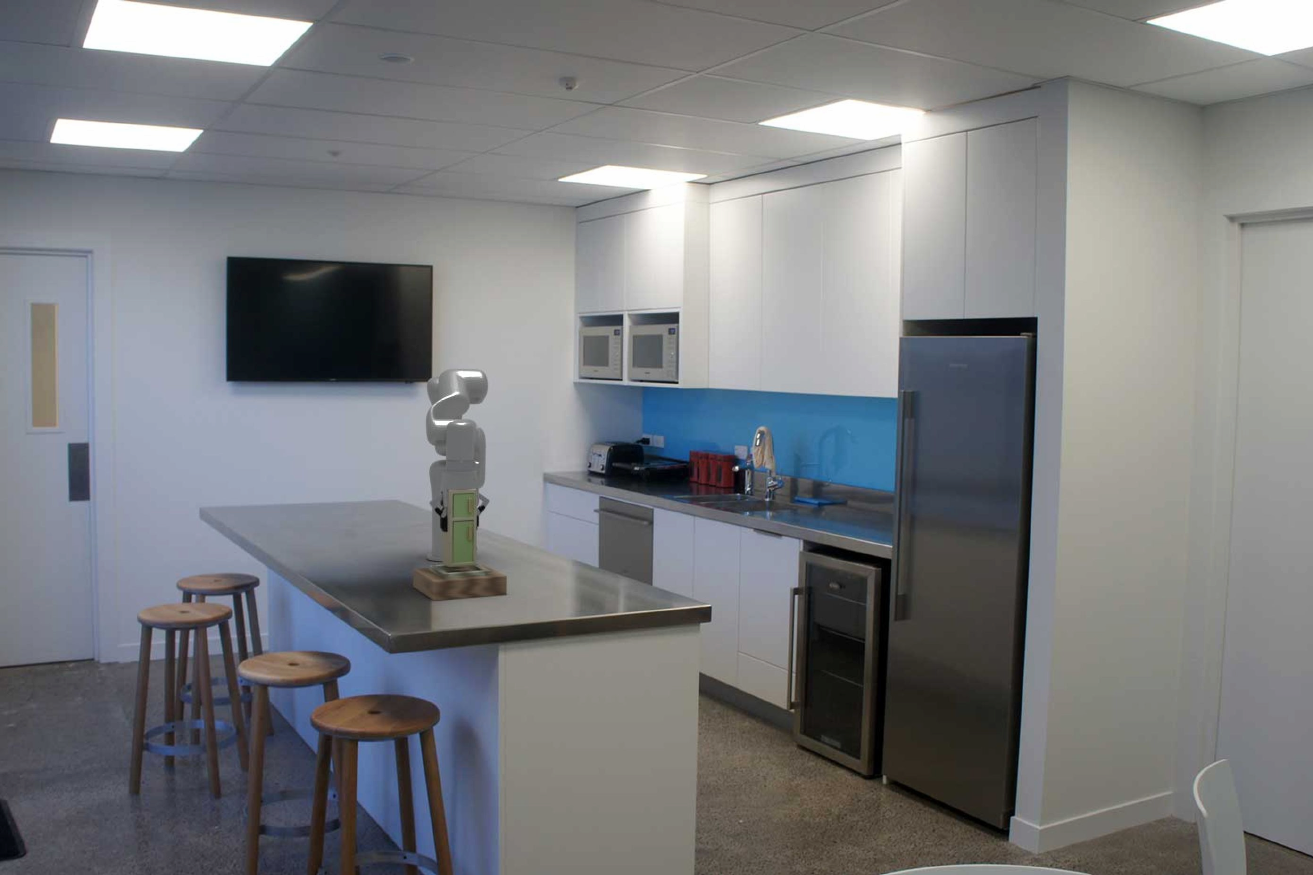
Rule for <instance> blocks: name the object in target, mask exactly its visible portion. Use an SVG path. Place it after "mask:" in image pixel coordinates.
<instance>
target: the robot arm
mask: <svg viewBox="0 0 1313 875" xmlns="http://www.w3.org/2000/svg"><path fill="white" fill-rule="evenodd" d="M426 391H427V396H428V399H429V401H430V403H431V406H430V407H429V409H428V411H427V414H426V417H425V431H426V432H425V433H426V434H425V435H426V439H427V441H428V443H429V444H430V445H432V446H434V449H435V452H436V454H437V455H439V456H442V457H445V459H439V460H436V461H434V462H432V464H431V465H430V466H429V473H428V474H429V483H430V489H431V500H430V501H429V505H430V507H431V553H428V554H426V559H427V560H429V561H433V562H442V531H443V532H447V531H448V519H447V517H446V515H447V508H448V490H468V489H476V490H477V528H479V527H480V516H481V515H482V513H483V512H484V511H485V509H486V507H487V506H488V504H489V503H490V498H487V497H486V496H484V495H483V494H482V493H480V489H481V488H483V487H484V485H485V482H486V462H487V461H486V455H487V454H486V452H487V450H486V448H487V444H486V443H487V442H486V435H485V431H484V430H483V429H482V428H481V427H479V425H478V424H477V423H476V422H475V420H473V419H470V418H469V419H468V418H467V419H466V418H465V419H464V418H463V415H464V414H466V413H468V410H469V409H470V405H480V404H482V403H483V402H484V400H485V398H486V396H488V395H487V394H488V391H489V382H488V376H487V374H486V373H485V372H484V371H483V370H481V369H477V368H475V369H474V368H471V369H470V368H466V369H465V368H449V369H446V370H444V371H442V372H441V373H440V375H439V376H434V377H431V378H430V379H428V381H427V383H426ZM480 500H481V502H482V503H481V504H480ZM443 503H444V504H443ZM479 504H480V505H479ZM442 506H443V507H442Z"/></svg>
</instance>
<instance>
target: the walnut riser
mask: <svg viewBox="0 0 1313 875" xmlns="http://www.w3.org/2000/svg"><path fill="white" fill-rule="evenodd" d="M412 571H413V577H412V578H413V582H412V583H413V586H412V587H413V588H414V589H416V590H417V591H419V592H420V593H421V594H423V595H425V596H426V597H427V598H430V599H431V600H432V601H434V602H435V601H447V600H458V599H459V600H460V599H470V598H483V597H494V596H507V594H508V593H507V591H508V590H507V588H508V586H507V583H508V582H507V580H508V577H507V575H505V574H503V573H501V572H499V571H497V570H495V569H493V568H492V567H490V566H487V565H485V564H483V563H480V564H478V563H476V565H470V566H457V567H448V566H446V565H445V564H435V565H428V567H424V568H413V570H412Z"/></svg>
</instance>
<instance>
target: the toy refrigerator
mask: <svg viewBox="0 0 1313 875" xmlns="http://www.w3.org/2000/svg"><path fill="white" fill-rule="evenodd" d="M443 504H444V503H443ZM442 507H443V506H442ZM477 508H478V506H477V490H476V489H468V490H448V508H447V515H446V517H447V519H448V531H447V532H443V531H442V561H441V563H442V565H446V566H448V567H457V566H470V565H476V564H478V563H477V560H478V559H477V555H478V554H477V550H478V546H477V533H478V532H477V531H478V527H477Z"/></svg>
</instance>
